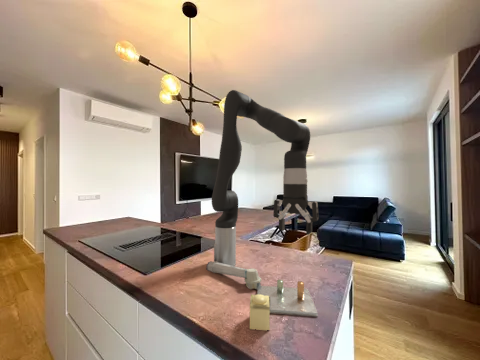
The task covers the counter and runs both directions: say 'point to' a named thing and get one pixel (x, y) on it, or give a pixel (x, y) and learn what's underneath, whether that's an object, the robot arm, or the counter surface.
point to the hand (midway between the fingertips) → (295, 232)
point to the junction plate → (289, 299)
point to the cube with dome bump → (259, 312)
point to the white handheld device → (236, 273)
